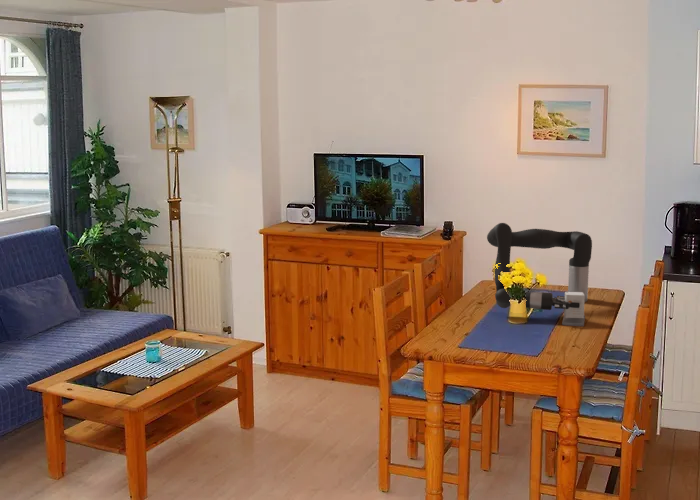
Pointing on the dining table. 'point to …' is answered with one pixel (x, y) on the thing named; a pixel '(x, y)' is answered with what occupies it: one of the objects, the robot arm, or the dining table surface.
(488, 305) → the dining table surface
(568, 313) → the small box
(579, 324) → the slate tile
